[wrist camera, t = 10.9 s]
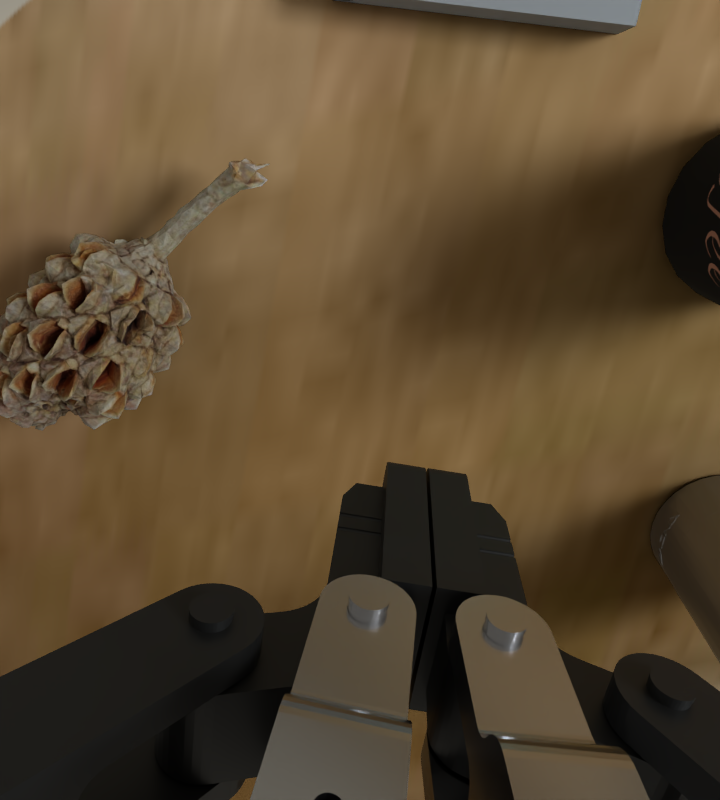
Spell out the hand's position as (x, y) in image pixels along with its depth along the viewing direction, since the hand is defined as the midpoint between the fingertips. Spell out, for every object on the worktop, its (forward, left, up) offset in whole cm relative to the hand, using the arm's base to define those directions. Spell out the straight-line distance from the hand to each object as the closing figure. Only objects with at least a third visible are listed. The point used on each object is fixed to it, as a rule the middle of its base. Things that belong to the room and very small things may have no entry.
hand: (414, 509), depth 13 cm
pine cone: (+16, +4, -32) cm, 36 cm away
